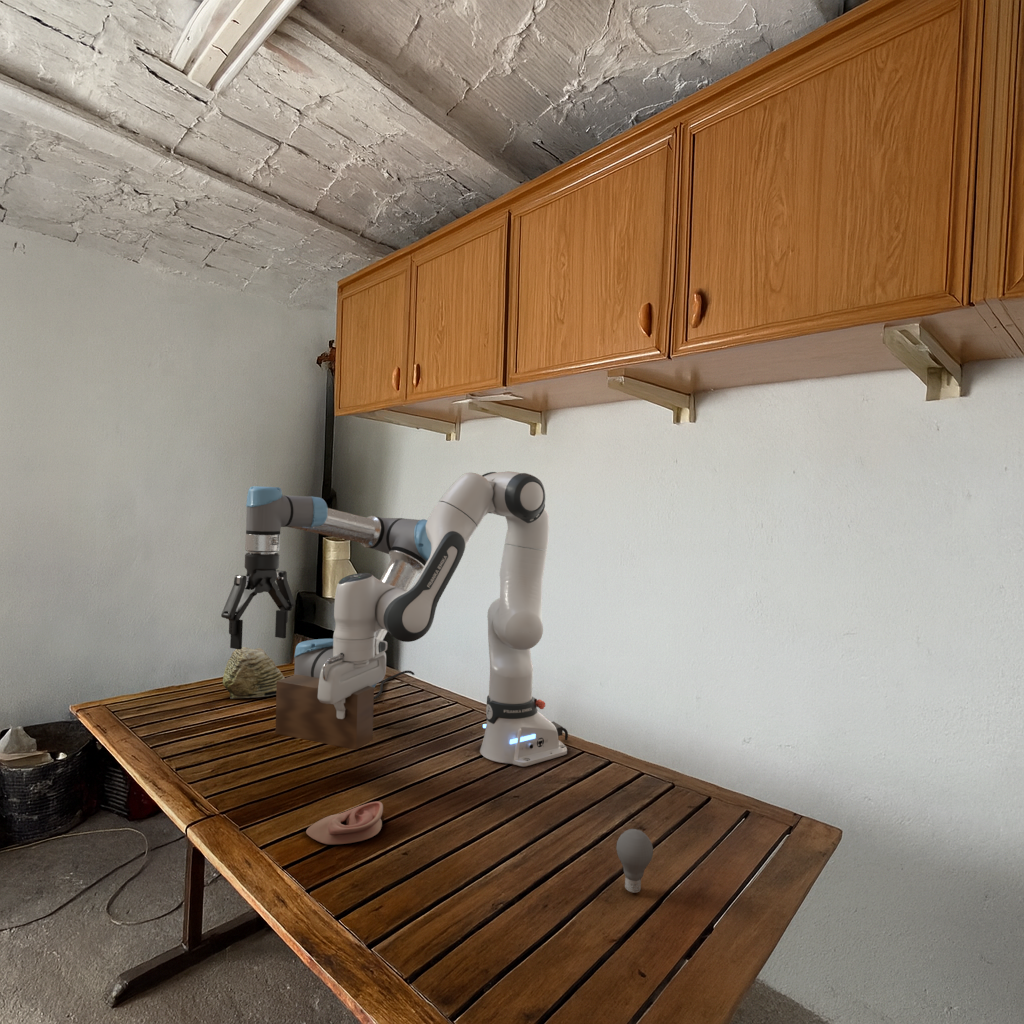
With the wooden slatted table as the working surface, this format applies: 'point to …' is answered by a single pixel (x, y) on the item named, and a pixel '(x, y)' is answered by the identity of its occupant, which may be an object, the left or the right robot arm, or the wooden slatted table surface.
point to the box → (322, 714)
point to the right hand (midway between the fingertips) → (352, 712)
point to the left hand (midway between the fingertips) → (259, 642)
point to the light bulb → (634, 857)
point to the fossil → (251, 674)
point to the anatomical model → (348, 825)
